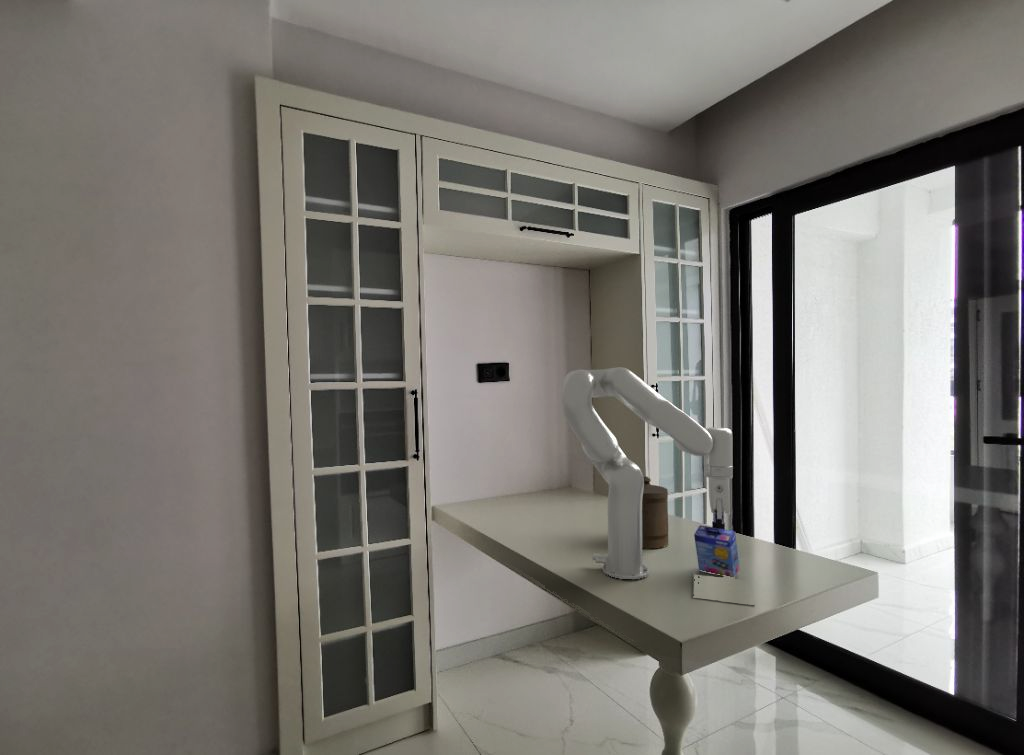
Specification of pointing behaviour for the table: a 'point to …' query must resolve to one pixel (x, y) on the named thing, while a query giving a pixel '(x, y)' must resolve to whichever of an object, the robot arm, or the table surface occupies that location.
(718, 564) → the ink cartridge box
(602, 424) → the robot arm
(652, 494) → the wooden container
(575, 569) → the table surface
